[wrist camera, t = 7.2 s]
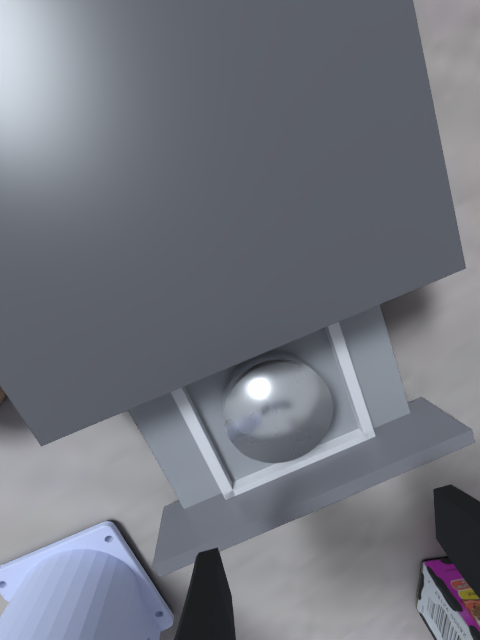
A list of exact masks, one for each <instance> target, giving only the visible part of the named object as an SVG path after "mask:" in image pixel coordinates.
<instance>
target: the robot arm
mask: <svg viewBox="0 0 480 640" xmlns="http://www.w3.org/2000/svg"><path fill="white" fill-rule="evenodd" d="M434 507H435V524H436V539H437V540H438V542H439V543H440V545H441V546H442V548H443V549H444V551H445V552H446V554H447V555H448V557H449V558H450V560H451V561H452V563H453V564H454V566H455V567H456V568H457V570H458V571H459V573H460V574H461V576H462V577H463V578H464V580H465V581H466V582H467V583H468V585H469V586H470V587H471V588H472V590H473V591H474V592H475V593H476V595H477V596H478V597H479V598H480V502H479V501H478V500H476V499H474V498H473V497H471V496H469V495H468V494H466V493H464V492H463V491H461V490H459V489H458V488H456V487H454V486H453V485H447V486H444V487H440V488H436V489H434ZM0 593H1V595H2V596H3V597H4V598H5V599H6V601H7V602H8V605H7V607H6V609H5V610H4V612H3V614H2V615H1V617H0V640H160V633H161V631H164V630H166V629H168V628H170V627H171V626H172V625H173V620H174V616H173V614H172V612H171V611H170V609H169V607H168V606H167V604H166V603H165V601H164V600H163V598H162V597H161V595H160V594H159V592H158V591H157V589H156V587H155V586H154V584H153V583H152V581H151V580H150V578H149V577H148V575H147V574H146V572H145V571H144V569H143V567H142V566H141V564H140V563H139V561H138V560H137V558H136V557H135V555H134V554H133V552H132V550H131V549H130V547H129V546H128V544H127V543H126V541H125V540H124V538H123V537H122V535H121V534H120V532H119V530H118V529H117V527H116V526H115V524H114V523H112V522H110V521H105V522H102V523H100V524H97V525H95V526H93V527H90V528H88V529H86V530H83V531H81V532H79V533H76V534H74V535H71V536H69V537H67V538H64V539H62V540H60V541H57V542H55V543H53V544H50V545H48V546H46V547H43V548H41V549H38V550H36V551H34V552H31V553H29V554H27V555H24V556H22V557H20V558H17V559H15V560H12V561H10V562H8V563H5V564H3V565H1V566H0ZM174 640H236V637H235V626H234V616H233V606H232V596H231V592H230V589H229V585H228V581H227V578H226V574H225V571H224V567H223V564H222V560H221V557H220V553H219V550H218V547H217V548H214V549H210V550H206V551H202V552H199V553H198V554H197V556H196V559H195V564H194V569H193V573H192V577H191V582H190V586H189V590H188V594H187V597H186V601H185V605H184V608H183V612H182V616H181V619H180V622H179V626H178V629H177V632H176V636H175V639H174Z"/></svg>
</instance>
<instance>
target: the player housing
mask: <svg viewBox="0 0 480 640" xmlns="http://www.w3.org/2000/svg"><path fill="white" fill-rule="evenodd" d="M463 269H466V267H465V262H464V256H463V251H462V246H461V241H460V236H459V231H458V226H457V221H456V216H455V211H454V206H453V201H452V196H451V191H450V186H449V181H448V176H447V171H446V166H445V160H444V155H443V150H442V145H441V140H440V135H439V130H438V125H437V120H436V115H435V110H434V105H433V100H432V95H431V90H430V85H429V80H428V75H427V69H426V64H425V59H424V54H423V49H422V44H421V39H420V34H419V29H418V24H417V19H416V14H415V9H414V4H413V0H0V386H1V387H2V389H3V390H4V392H5V393H6V395H7V396H8V398H9V399H10V401H11V402H12V404H13V405H14V407H15V408H16V410H17V411H18V413H19V414H20V416H21V417H22V419H23V420H24V422H25V423H26V424H27V426H28V427H29V429H30V430H31V432H32V433H33V435H34V436H35V438H36V439H37V441H38V442H39V444H40V445H41V446H43V445H46V444H48V443H50V442H53V441H55V440H58V439H60V438H62V437H65V436H67V435H69V434H72V433H74V432H77V431H79V430H81V429H84V428H86V427H89V426H91V425H93V424H96V423H98V422H100V421H103V420H105V419H108V418H110V417H112V416H115V415H117V414H120V413H122V412H124V411H127V410H129V409H132V408H134V407H136V406H139V405H141V404H143V403H146V402H148V401H151V400H153V399H155V398H158V397H160V396H163V395H165V394H167V393H170V392H172V391H174V390H177V389H179V388H182V387H184V386H186V385H189V384H191V383H194V382H196V381H198V380H201V379H203V378H205V377H208V376H210V375H213V374H215V373H217V372H220V371H222V370H225V369H227V368H229V367H232V366H234V365H237V364H239V363H241V362H244V361H246V360H248V359H251V358H253V357H256V356H258V355H260V354H263V353H265V352H268V351H270V350H272V349H275V348H277V347H279V346H282V345H284V344H287V343H289V342H291V341H294V340H296V339H299V338H301V337H303V336H306V335H308V334H310V333H313V332H315V331H318V330H320V329H322V328H325V327H327V326H330V325H332V324H334V323H337V322H339V321H341V320H344V319H346V318H349V317H351V316H353V315H356V314H358V313H361V312H363V311H365V310H368V309H370V308H373V307H375V306H377V305H380V304H382V303H384V302H387V301H389V300H392V299H394V298H396V297H399V296H401V295H404V294H406V293H408V292H411V291H413V290H415V289H418V288H420V287H423V286H425V285H427V284H430V283H432V282H435V281H437V280H439V279H442V278H444V277H446V276H449V275H451V274H454V273H456V272H458V271H461V270H463Z"/></svg>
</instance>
